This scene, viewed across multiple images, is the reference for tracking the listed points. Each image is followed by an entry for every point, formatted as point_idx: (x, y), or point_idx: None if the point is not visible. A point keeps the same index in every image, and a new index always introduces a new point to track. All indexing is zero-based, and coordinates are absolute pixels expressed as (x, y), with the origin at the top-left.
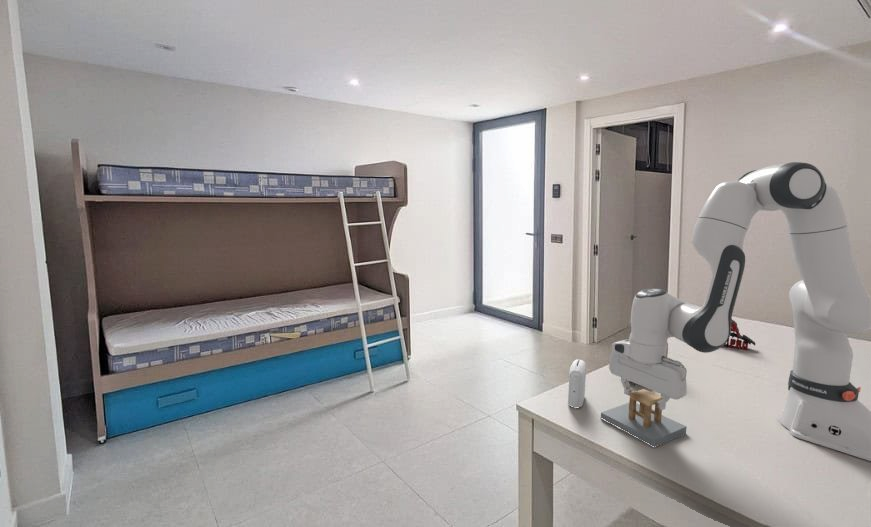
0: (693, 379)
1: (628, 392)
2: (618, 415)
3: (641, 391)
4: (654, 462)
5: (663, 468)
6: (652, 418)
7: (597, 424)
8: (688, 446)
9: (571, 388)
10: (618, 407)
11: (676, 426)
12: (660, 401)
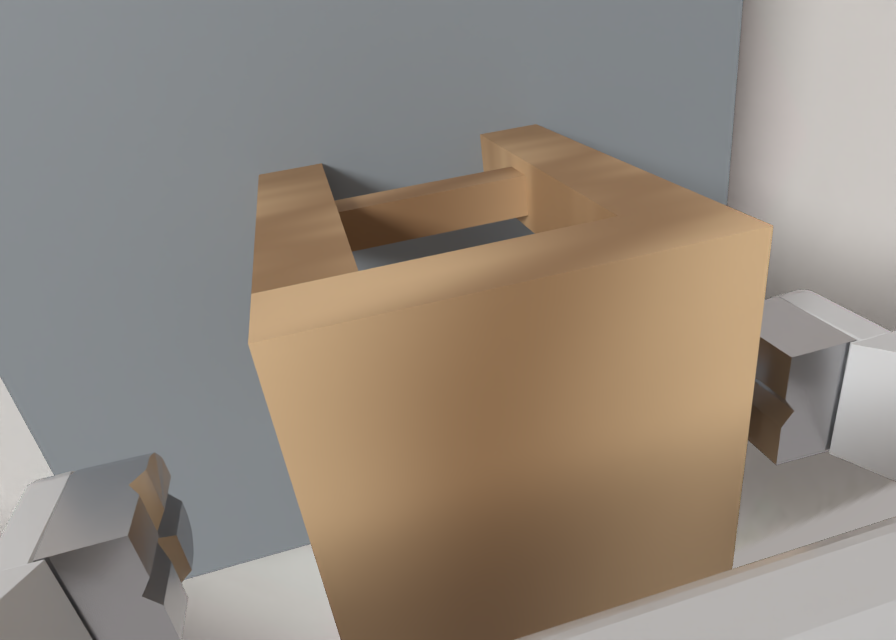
0: None
1: (183, 591)
2: (234, 473)
3: (364, 478)
4: (755, 489)
5: (812, 478)
6: (426, 152)
7: (221, 594)
8: (806, 113)
9: None
10: (25, 367)
11: (685, 23)
12: (882, 475)
